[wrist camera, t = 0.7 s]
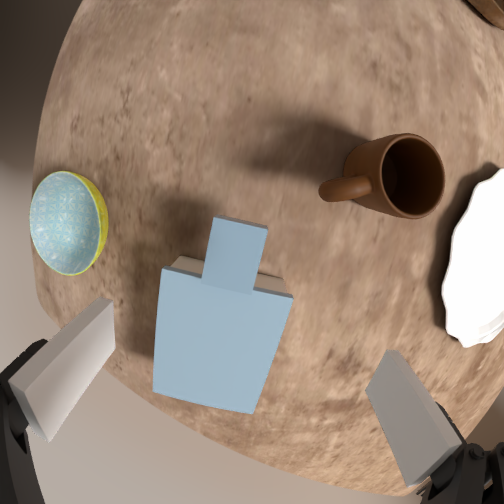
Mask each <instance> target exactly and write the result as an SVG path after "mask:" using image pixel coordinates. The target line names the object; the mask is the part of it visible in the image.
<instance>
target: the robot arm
mask: <svg viewBox="0 0 504 504" xmlns="http://www.w3.org/2000/svg"><path fill="white" fill-rule="evenodd" d="M114 350H115V335H114V309H113V300H110V299H106V298H103V297H98V298H97V299H96V300H95V301H94V302H92V303H91V304H90V305H89V306H88V307H87V308H85V309H84V310H83V311H82V312H81V313H80V314H78V315H77V316H76V317H75V318H74V319H73V320H72V321H70V322H69V323H68V324H67V325H66V326H65V327H64V328H63V329H61V330H60V331H59V332H58V333H57V334H56V335H55V336H54V337H53V338H52V339H50V340H49V341H47V340H45V339H41V340H39V341H37V342H34V343H32V344H31V345H30V346H29V347H28V348H27V349H26V350H25V351H24V352H22V353H21V354H20V355H19V357H17V358H16V359H15V360H14V361H13V362H12V363H11V364H10V365H9V366H7V367H6V368H5V369H4V370H3V371H2V372H1V373H0V504H45V502H44V499H43V496H42V493H41V490H40V487H39V484H38V480H37V476H36V473H35V469H34V465H33V461H32V456H31V451H30V446H29V441H28V435H27V432H26V430H25V429H26V427H27V426H28V425H30V427H31V429H32V430H33V432H34V433H35V434H36V435H38V436H39V437H41V438H42V439H44V440H46V441H48V442H49V443H50V442H51V440H52V439H53V437H54V436H55V434H56V433H57V431H58V430H59V428H60V427H61V425H62V423H63V422H64V420H65V419H66V417H67V416H68V414H69V413H70V411H71V410H72V408H73V407H74V406H75V404H76V403H77V401H78V399H79V398H80V397H81V395H82V394H83V392H84V391H85V390H86V388H87V387H88V385H89V384H90V383H91V381H92V380H93V378H94V377H95V375H96V374H97V373H98V371H99V370H100V369H101V367H102V366H103V364H104V363H105V362H106V360H107V359H108V358H109V356H110V355H111V354H112V352H113V351H114ZM365 391H366V393H367V396H368V398H369V400H370V402H371V404H372V406H373V409H374V411H375V413H376V415H377V417H378V420H379V422H380V424H381V426H382V429H383V431H384V433H385V436H386V438H387V440H388V442H389V445H390V447H391V449H392V452H393V454H394V457H395V459H396V461H397V464H398V466H399V469H400V471H401V473H402V476H403V478H404V481H405V483H406V486H407V487H411V486H414V485H417V484H420V483H422V482H423V481H424V480H425V479H426V478H427V477H429V476H430V477H431V479H432V480H431V481H430V482H428V483H427V484H426V485H425V486H424V487H422V488H421V489H420V490H419V491H418V492H417V493H416V494H417V495H418V494H420V493H421V492H422V491H424V490H425V492H424V493H423V494H422V495H421V496H422V497H423V498H422V501H421V503H420V504H504V442H500V443H499V444H497V445H496V447H494V449H493V450H492V451H484V450H483V448H482V447H481V446H479V445H477V444H474V443H471V444H467V443H466V441H465V440H464V438H463V436H462V435H461V433H460V432H459V430H458V429H457V427H456V426H455V424H454V423H452V422H453V421H452V420H451V418H450V417H448V416H449V415H448V414H447V412H446V411H445V409H444V408H443V407H442V406H441V405H440V404H438V403H437V402H435V401H434V399H433V398H432V396H431V395H430V393H429V392H428V391H427V389H426V388H425V386H424V385H423V384H422V382H421V381H420V379H419V378H418V377H417V375H416V374H415V372H414V371H413V370H412V368H411V367H410V366H409V364H408V363H407V361H406V360H405V359H404V357H403V356H402V355H401V353H400V352H399V351H398V350H386V352H385V354H384V356H383V358H382V360H381V362H380V364H379V366H378V368H377V369H376V371H375V373H374V375H373V377H372V379H371V381H370V382H369V384H368V386H367V388H366V389H365ZM491 479H492V480H493V484H492V485H491V486H490V487H489V488H487V489H486V490H485V489H484V486H485V485H486V484H487V483H488V482H489V481H490V480H491Z"/></svg>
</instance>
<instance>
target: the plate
mask: <svg viewBox="0 0 504 504" xmlns="http://www.w3.org/2000/svg"><path fill="white" fill-rule="evenodd" d="M441 296H442V299H443V303H444V306H445V310H446V320H445V329H446V331H447V333H448V334H450V335H452V336H454V337H456V338H458V340H459V341H460V343H461V344H462V346H463V347H466V348H468V347H470V346H473V345H475V344H478V343H488V342H490V341H491V340H493V339H494V338H495V336H496V335H497V334H498V333H499V332H500V331H501V330H502V329H503V328H504V168H503V169H499V170H498V171H497V172H496V173H495V174H494V175H493V176H492V177H491V178H490V179H487V180H484V181H482V182H479V183H477V185H476V186H475V187H474V188H473V192H472V194H471V197H470V200H469V203H468V206H467V209H466V211H465V212H464V214H463V215H462V217H461V218H460V220H459V221H458V223H457V224H456V226H455V227H454V230H453V233H452V236H451V245H450V256H449V263H448V266H447V269H446V273H445V276H444V279H443V282H442V285H441Z"/></svg>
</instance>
